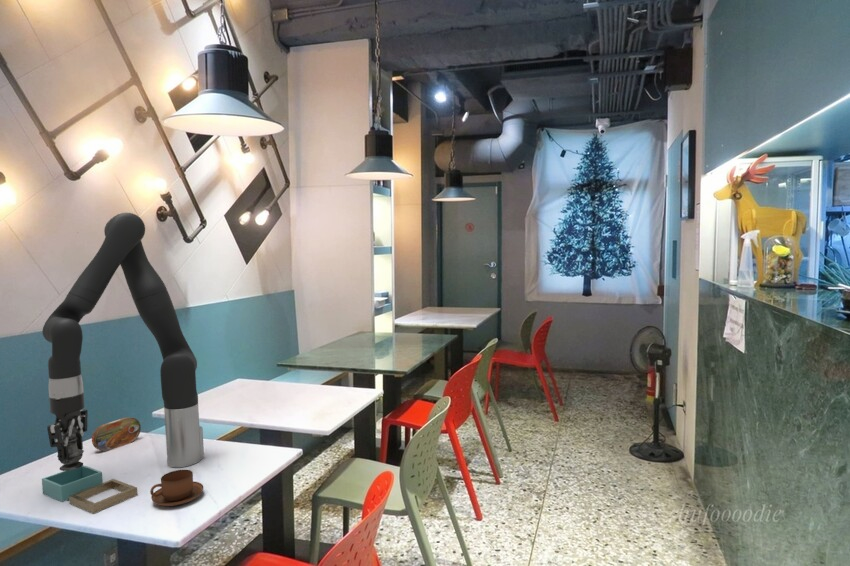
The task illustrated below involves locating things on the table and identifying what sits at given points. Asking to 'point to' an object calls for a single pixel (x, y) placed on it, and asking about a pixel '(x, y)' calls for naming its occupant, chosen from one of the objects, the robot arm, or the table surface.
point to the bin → (70, 482)
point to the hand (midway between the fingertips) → (70, 455)
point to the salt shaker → (72, 453)
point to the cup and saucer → (176, 488)
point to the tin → (116, 434)
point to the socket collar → (91, 507)
